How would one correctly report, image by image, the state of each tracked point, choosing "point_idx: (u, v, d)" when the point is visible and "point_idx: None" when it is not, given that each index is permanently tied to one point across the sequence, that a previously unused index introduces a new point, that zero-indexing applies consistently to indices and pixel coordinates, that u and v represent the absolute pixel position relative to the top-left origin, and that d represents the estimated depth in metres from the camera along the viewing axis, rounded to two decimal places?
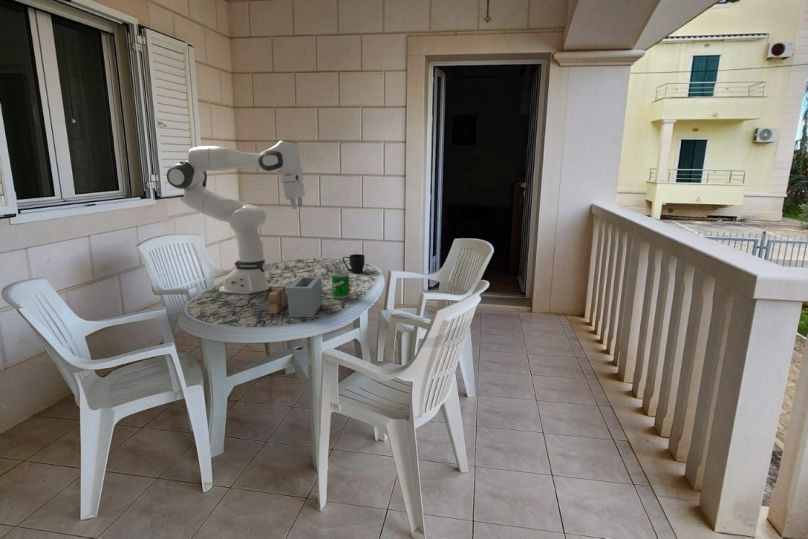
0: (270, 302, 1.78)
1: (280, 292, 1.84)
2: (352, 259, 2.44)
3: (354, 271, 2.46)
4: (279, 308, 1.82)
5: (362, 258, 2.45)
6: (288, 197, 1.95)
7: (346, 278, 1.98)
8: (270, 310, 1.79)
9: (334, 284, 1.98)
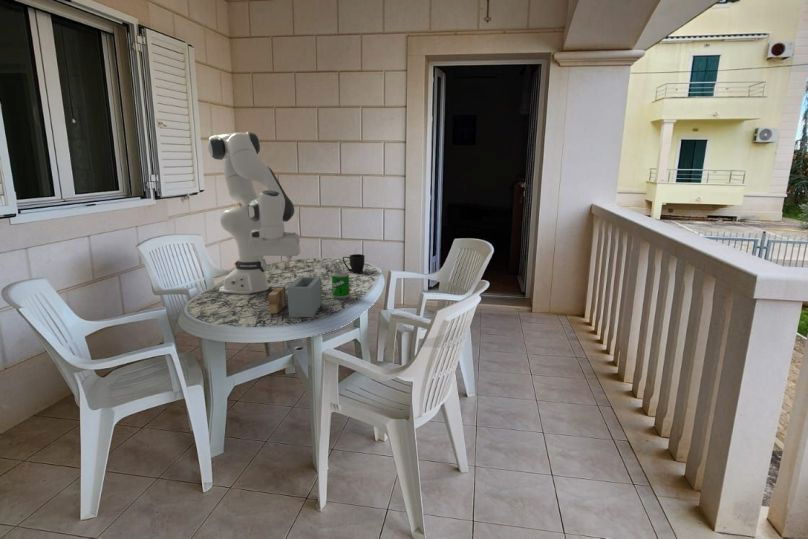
0: (270, 302, 1.78)
1: (280, 292, 1.84)
2: (352, 259, 2.44)
3: (354, 271, 2.46)
4: (279, 308, 1.82)
5: (362, 258, 2.45)
6: None
7: (346, 278, 1.98)
8: (270, 310, 1.79)
9: (334, 284, 1.98)
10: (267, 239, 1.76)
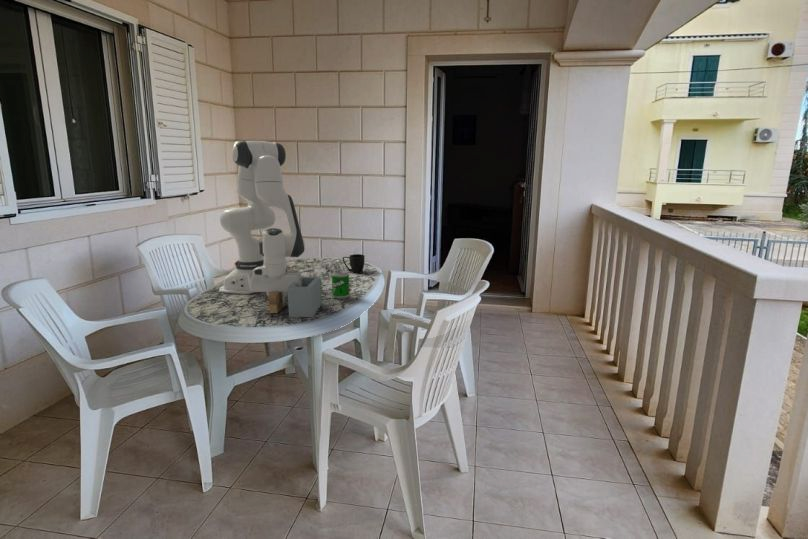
0: (270, 302, 1.78)
1: (280, 292, 1.84)
2: (352, 259, 2.44)
3: (354, 271, 2.46)
4: (279, 308, 1.82)
5: (362, 258, 2.45)
6: None
7: (346, 278, 1.98)
8: (270, 310, 1.79)
9: (334, 284, 1.98)
10: (269, 276, 1.79)
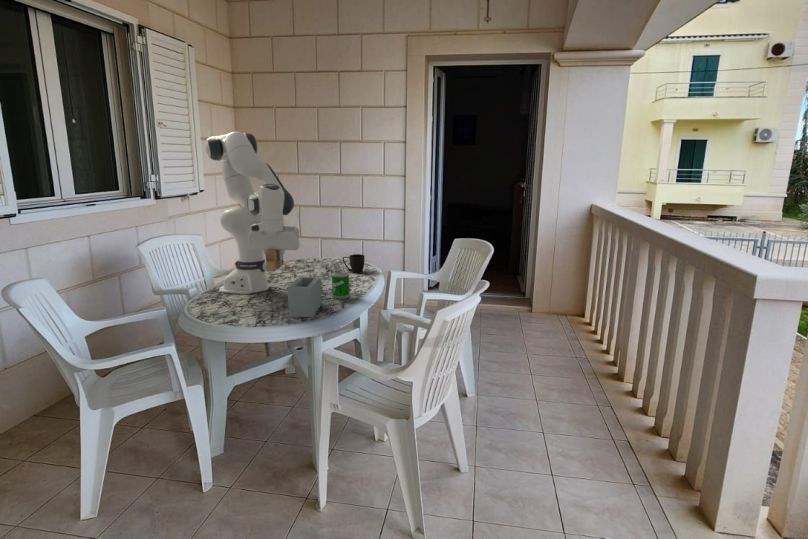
0: (267, 259, 1.75)
1: (278, 250, 1.80)
2: (352, 259, 2.44)
3: (354, 271, 2.46)
4: (276, 266, 1.79)
5: (362, 258, 2.45)
6: None
7: (346, 278, 1.98)
8: (267, 267, 1.75)
9: (334, 284, 1.98)
10: (267, 233, 1.76)
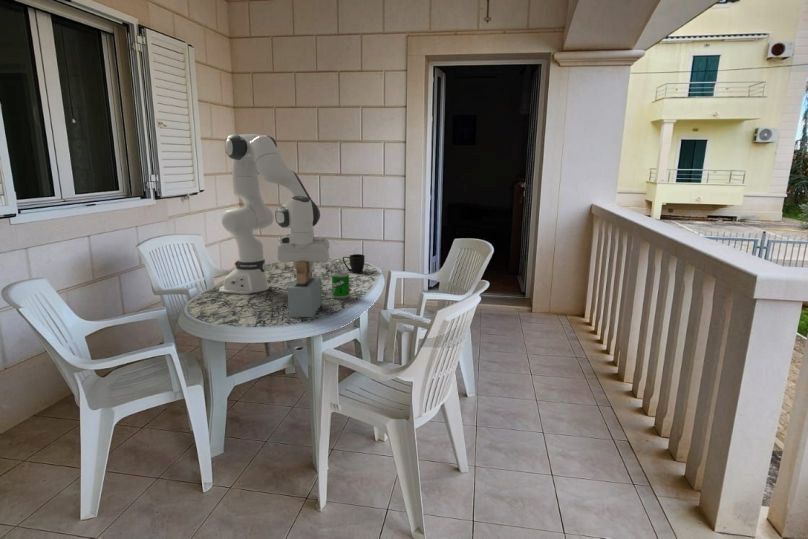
0: (298, 271, 1.74)
1: (307, 262, 1.80)
2: (352, 259, 2.44)
3: (354, 271, 2.46)
4: (306, 278, 1.78)
5: (362, 258, 2.45)
6: None
7: (346, 278, 1.98)
8: (298, 279, 1.75)
9: (334, 284, 1.98)
10: (297, 245, 1.75)
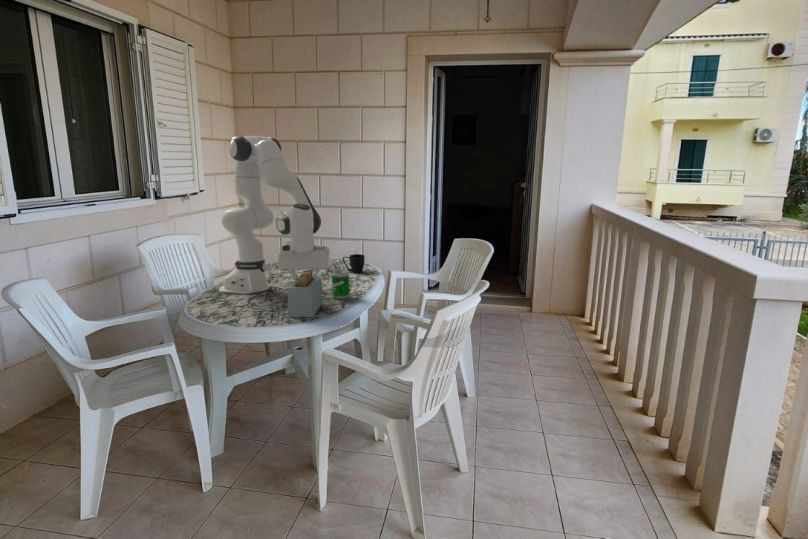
0: (298, 286, 1.76)
1: (308, 277, 1.81)
2: (352, 259, 2.44)
3: (354, 271, 2.46)
4: None
5: (362, 258, 2.45)
6: None
7: (346, 278, 1.98)
8: None
9: (334, 284, 1.98)
10: (297, 252, 1.76)
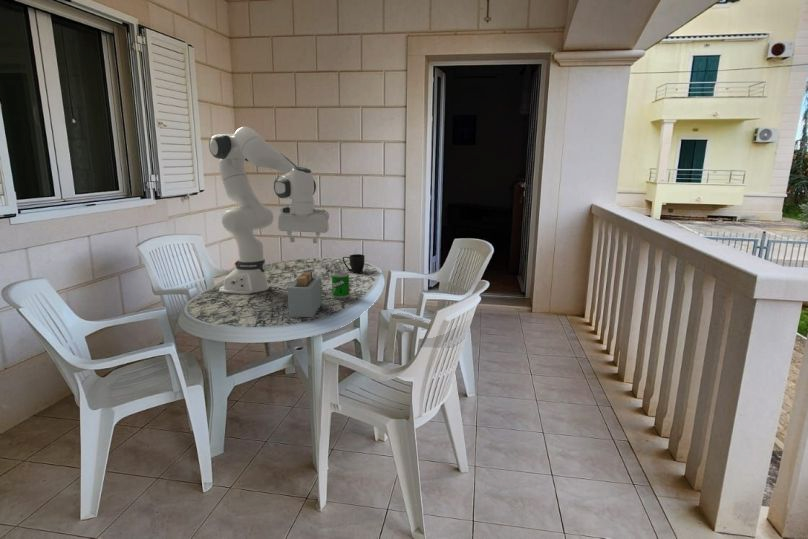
0: (298, 286, 1.76)
1: (308, 277, 1.81)
2: (352, 259, 2.44)
3: (354, 271, 2.46)
4: None
5: (362, 258, 2.45)
6: None
7: (346, 278, 1.98)
8: None
9: (334, 284, 1.98)
10: (297, 215, 1.79)
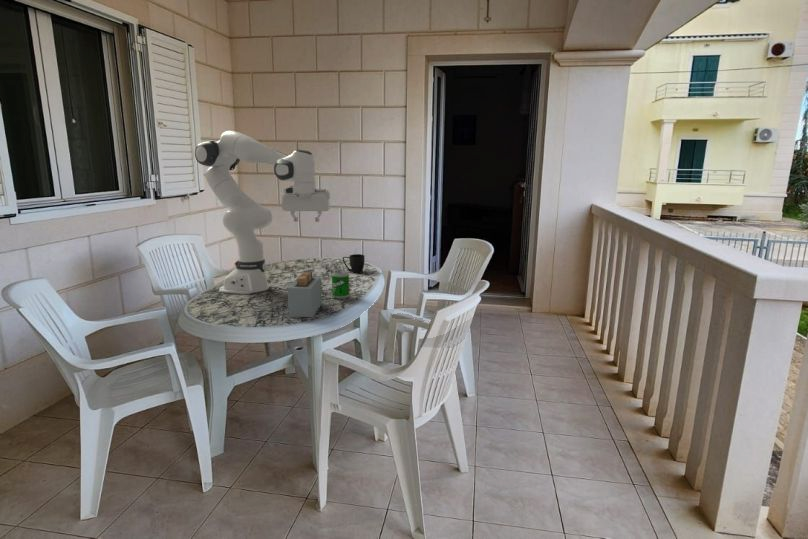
0: (298, 286, 1.76)
1: (308, 277, 1.81)
2: (352, 259, 2.44)
3: (354, 271, 2.46)
4: None
5: (362, 258, 2.45)
6: None
7: (346, 278, 1.98)
8: None
9: (334, 284, 1.98)
10: (300, 195, 1.90)
